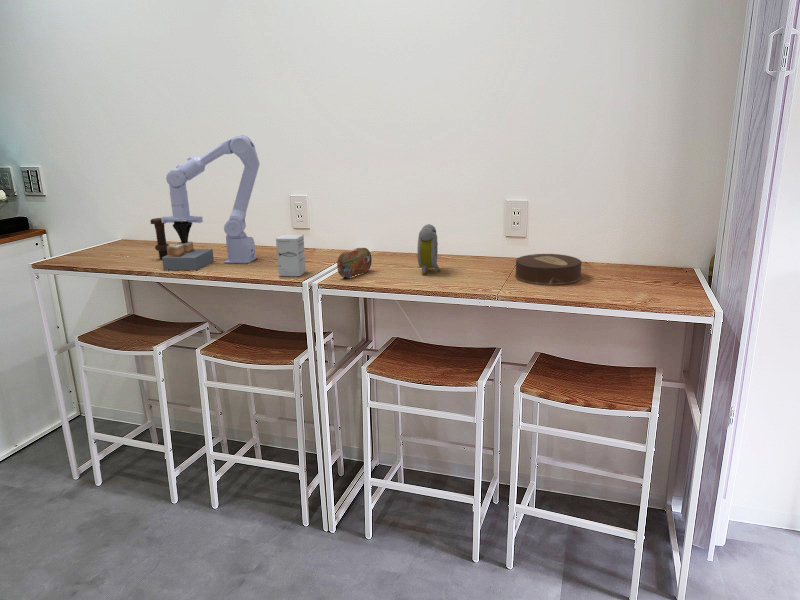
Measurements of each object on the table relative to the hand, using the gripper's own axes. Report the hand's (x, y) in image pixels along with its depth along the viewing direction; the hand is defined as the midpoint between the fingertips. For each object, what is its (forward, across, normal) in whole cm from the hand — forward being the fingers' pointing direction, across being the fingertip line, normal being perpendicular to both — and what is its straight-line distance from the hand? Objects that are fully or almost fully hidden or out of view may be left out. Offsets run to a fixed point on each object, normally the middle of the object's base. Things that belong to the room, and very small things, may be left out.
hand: (184, 242), depth 225 cm
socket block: (+8, +2, -4) cm, 9 cm away
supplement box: (+8, +44, -14) cm, 46 cm away
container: (+8, +125, -14) cm, 126 cm away
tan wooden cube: (+4, 0, 0) cm, 4 cm away
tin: (+8, +64, -14) cm, 66 cm away
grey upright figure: (+8, +88, -8) cm, 89 cm away
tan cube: (+4, 0, -7) cm, 8 cm away
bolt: (+8, -12, +6) cm, 16 cm away
